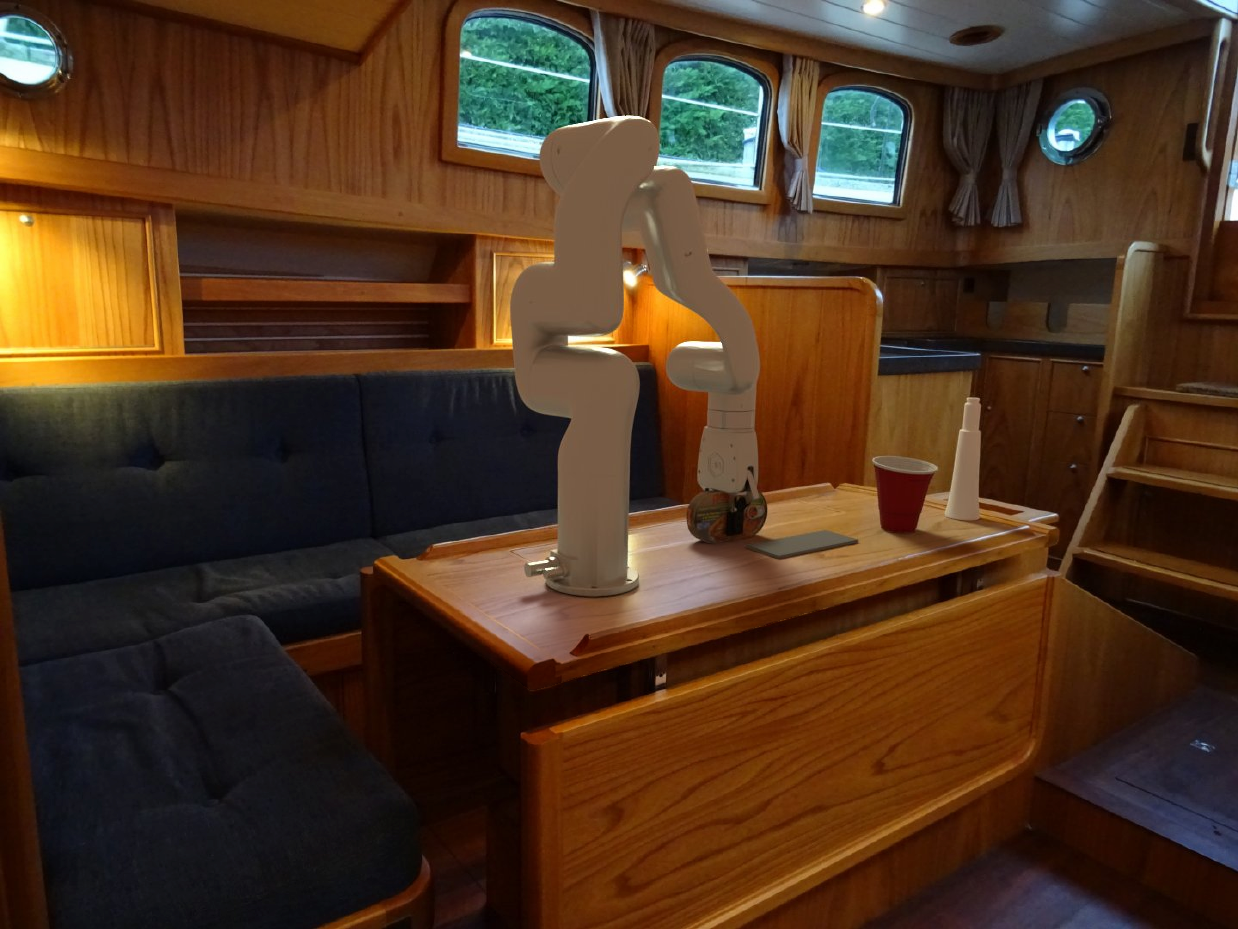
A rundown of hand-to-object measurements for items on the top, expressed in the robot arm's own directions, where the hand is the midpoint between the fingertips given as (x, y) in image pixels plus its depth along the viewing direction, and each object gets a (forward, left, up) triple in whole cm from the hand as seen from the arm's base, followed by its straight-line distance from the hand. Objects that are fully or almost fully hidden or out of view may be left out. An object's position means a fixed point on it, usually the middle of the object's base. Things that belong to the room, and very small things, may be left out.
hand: (726, 530), depth 139 cm
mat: (+8, -10, -1) cm, 12 cm away
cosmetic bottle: (+48, -11, -1) cm, 49 cm away
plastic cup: (+30, -11, -1) cm, 32 cm away
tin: (0, 0, -2) cm, 2 cm away
